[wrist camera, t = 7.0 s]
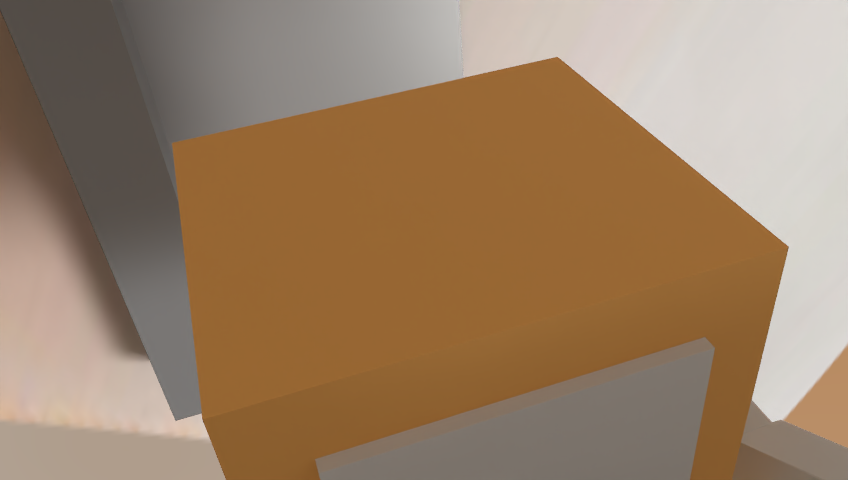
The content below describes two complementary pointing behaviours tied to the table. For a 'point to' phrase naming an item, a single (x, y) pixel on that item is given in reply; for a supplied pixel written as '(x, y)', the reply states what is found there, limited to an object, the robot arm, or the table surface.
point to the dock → (201, 112)
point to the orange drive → (470, 290)
